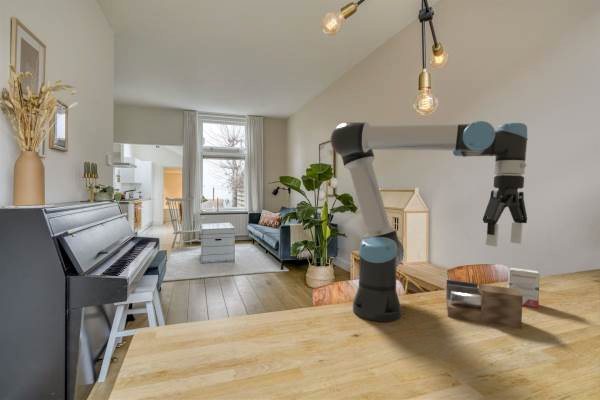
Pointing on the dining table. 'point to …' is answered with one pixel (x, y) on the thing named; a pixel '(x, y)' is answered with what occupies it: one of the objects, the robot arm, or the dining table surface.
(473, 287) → the v block
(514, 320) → the wooden shaft support
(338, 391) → the dining table surface
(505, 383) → the dining table surface
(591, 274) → the dining table surface
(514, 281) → the ink box
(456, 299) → the axle
